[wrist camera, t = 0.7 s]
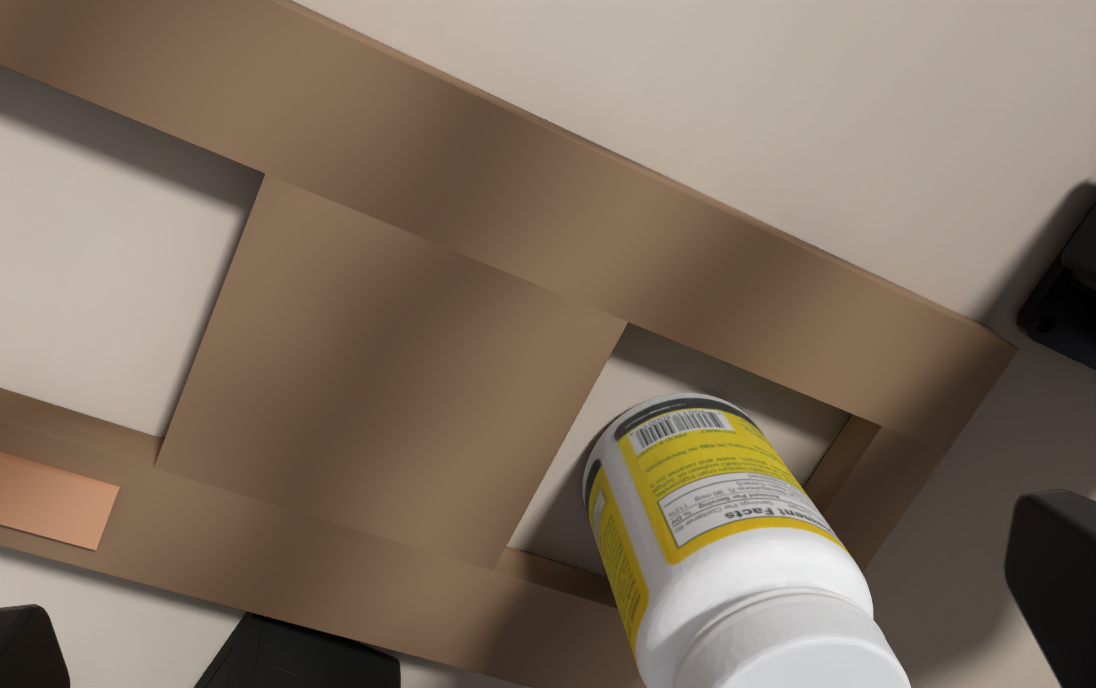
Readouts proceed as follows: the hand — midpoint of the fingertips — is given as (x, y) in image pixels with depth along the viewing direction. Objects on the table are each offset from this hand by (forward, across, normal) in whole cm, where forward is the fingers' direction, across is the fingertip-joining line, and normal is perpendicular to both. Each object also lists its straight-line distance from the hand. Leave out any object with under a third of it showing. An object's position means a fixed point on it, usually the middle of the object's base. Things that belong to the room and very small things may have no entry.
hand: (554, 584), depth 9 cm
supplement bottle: (+13, -4, +7) cm, 16 cm away
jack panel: (+12, +2, +4) cm, 13 cm away
